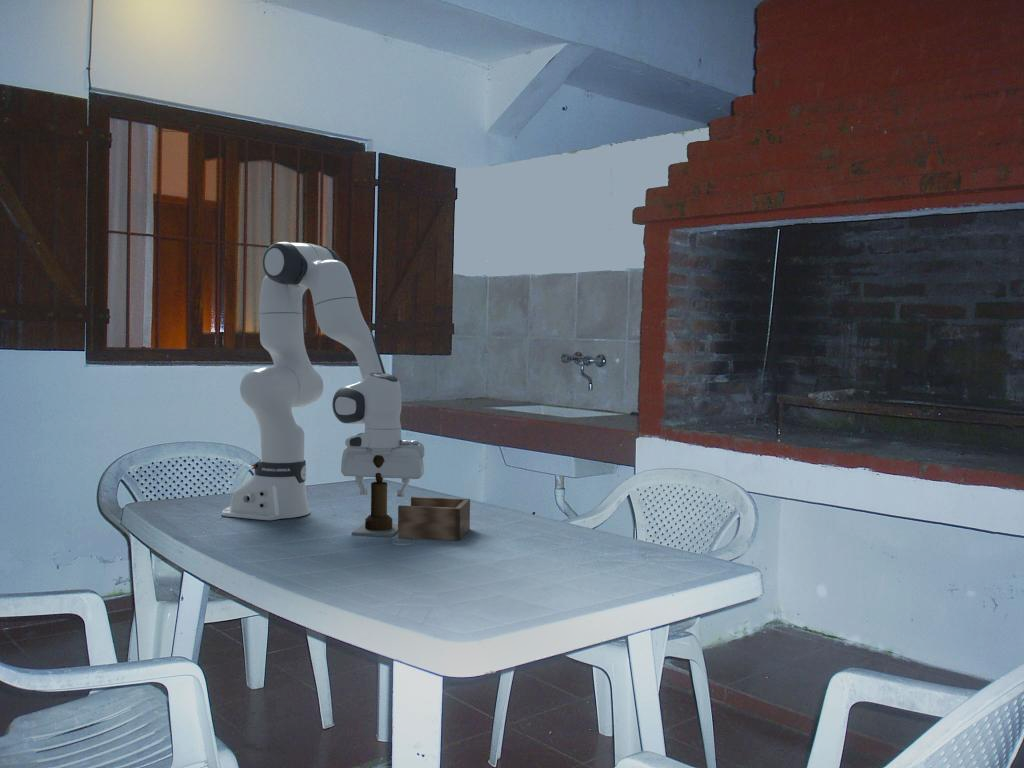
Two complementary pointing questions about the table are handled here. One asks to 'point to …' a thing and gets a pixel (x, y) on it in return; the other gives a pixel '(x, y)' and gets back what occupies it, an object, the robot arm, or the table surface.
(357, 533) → the grey rubber mat
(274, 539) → the table surface
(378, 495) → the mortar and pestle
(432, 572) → the table surface
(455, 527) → the walnut bay
